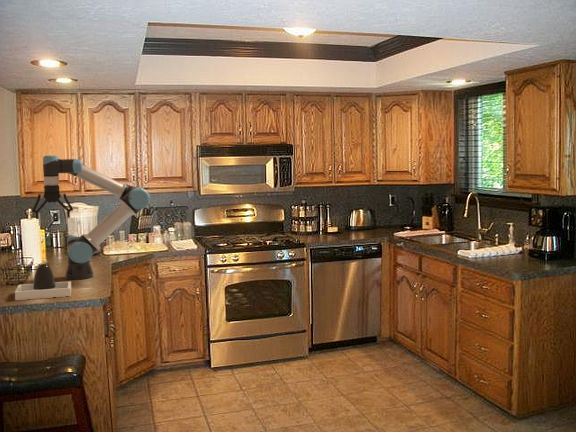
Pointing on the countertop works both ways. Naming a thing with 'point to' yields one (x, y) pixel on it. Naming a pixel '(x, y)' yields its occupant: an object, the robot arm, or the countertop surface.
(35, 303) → the countertop surface
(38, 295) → the box
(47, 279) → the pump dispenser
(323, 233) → the countertop surface
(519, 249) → the countertop surface
